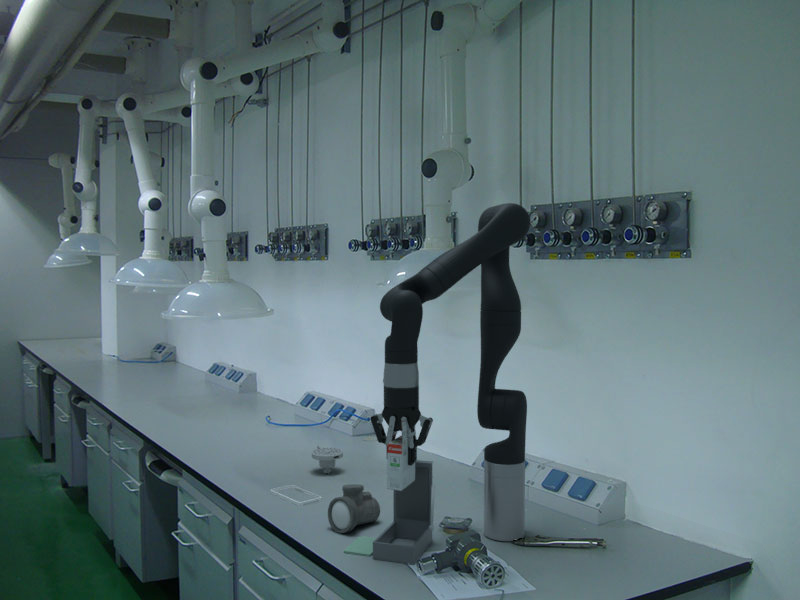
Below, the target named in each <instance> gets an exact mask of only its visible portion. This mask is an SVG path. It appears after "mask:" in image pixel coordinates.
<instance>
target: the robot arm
mask: <svg viewBox="0 0 800 600" xmlns="http://www.w3.org/2000/svg"><path fill="white" fill-rule="evenodd" d="M477 224H478V225H477V233H475V234H473V235H472V236H470V237H469V238H468V239H466V240H464V241H462V242H461V243H459V244H457V245H456V246H453V247H452V248H450V249H448V250H446V251H444V252H443V253H441V254H440V255H439V256H438V257H435V259H433V260H432V261H431V262H429V263H428V264H427V265H426V266H424V267H423V268H422V269H420V270H419V271H418V272H417V273H416V274H414V275H412V276H411V277H409V278H407V279H405V280H404V281H401V282H400V283H398V284H397V285H395V286H394V287H392V288H391V289H389V290H388V291H387V292H386V293H385V294H384V295H383V296H382V298H381V300H380V304H379V310H380V313H381V316H382V317H383V318H384V319H385V320H386V321H389V322H391V329H390V335H388V336H387V337H386V338H385V341H384V367H383V379H382V384H383V409H382V411H381V413H375V414H373V415H372V416H371V417H370V422H371V426H372V429H373V430H374V433H375V436H376V438H377V439H376V440H377V443H379V444H384V445H385V446H386V454H387V453H388V451H387V449H388V445H387V444H388V443H389V442H391V441H393V440H394V439H396V438H397V434H398V432H402V430H401V422H402V421H404V420H405V421H406V427H407V441H408V445H409V448H408V465H411V466H412V465H413V464H414V462H416V460H417V459H418V452H417V451H418V447H421V446H423V444H425V443H426V440H427V438H428V435H429V433H430V430H431V428H432V427H431V426H432V425H433V422H434V419H433V417H426V416H424V415H422V413H421V411H420V406H419V405H420V372H419V364H418V360H419V359H418V358H419V357H418V354H419V353H418V341H419V337H420V333H421V328H422V322H423V316H424V315H423V313H424V311H423V310H424V308H423V304H425V303H427V302H430V301H433V300H436V299H438V298H439V297H441V296H442V295H444V293H446V292H447V291H448V290H450V289H451V288H452V287H454V286H455V285H456V284H457V283H458V282H460V280H462V279H463V278H464V277H466V276H468V275H469V273H471V272H472V271H474V270H475V269H477V267H480V308H479V309H480V313H479V314H480V321H479V323H480V325H479V326H480V368H479V381H478V382H479V383H478V391H477V404H476V405H477V406H476V407H477V410H476V411H477V412H476V413H477V420H478V424H479V425H480V427H481V428H483V429H486V430H487V429H488V430H497V431H508V432H509V435H508V437H506V438H505V439H502V440H499V441H496V442H492V443H490V444H487V445H486V446H485V447H484V451H483V458H484V460H483V466H484V467H483V479H484V480H483V495H484V496H483V534H484V536H485V537H487V538H489V539H490V540H495V541H499V542H514V541H513V540H515V539H519V538H522V539H523V538H524V537H525V533H526V532H525V531H526V529H525V528H526V527H525V526H526V525H525V522H526V513H525V512H526V507H525V506H526V503H525V502H526V437H527V435H526V433H527V432H526V431H527V430H526V429H527V415H528V400H527V397H526V394H525V393H524V392H523V391H522V390H518V389H505V388H504V389H502V388H496V381H497V376H498V372H499V370H500V368H501V366H502V364H503V362H504V360H505V359H506V357H507V356H508V354H509V353H510V351H511V350H512V348H513V347H514V345H515V344H516V343H517V340H518V339H519V337H520V335H521V332H522V303H521V298H520V295H519V291H518V288H517V287H516V284H515V281H514V279H513V276H512V273H511V267H510V266H511V265H510V248H511V246H513V245H515V244H517V243H519V242H520V241H522V240H523V239H524V238H525V237H526V236H527V235H528V232H529V231H530V227H531V218H530V214H529V212H528V211H527V209H526V208H524V206H522V205H520V204H517V203H514V202H513V203H511V202H508V203H501V204H498V205H497V204H496V205H492V206H490V207H487V208H486V209H484V210H483V211H482V212H481V214H480V216H479V219H478V223H477ZM384 421H385V423H386V424H387V426H388V427H387V431H386V432H385V428H384V425H383V422H384ZM418 422H420V424H419V426H420V427H421V430H420V433H419V435H418V437H417V432H416V425H417V423H418Z"/></svg>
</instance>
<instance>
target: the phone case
mask: <svg viewBox="0 0 800 600" xmlns="http://www.w3.org/2000/svg"><path fill="white" fill-rule="evenodd" d="M287 489H294V490H296V489H298V490H300V491H302V492H303V493H304V494H306V495H308V496H310V497H313V498H312V499H307V500H304V501H298V500H295V499H293V498H290V497H289V496H287V495H285V494H282V493H279V492H280V491H284V490H287ZM269 492H270V494H272V495H274V496H276V497H278V498H279V499H280V498H281V499H283V500H285V501H287V502H289V503H291V504H294V505H296V506H297V507H298V506H299V507H303V506H304V505H305V504H306V503H309V502H313V501H317V500H318V502H322V501H323V497H322V496H320V495H319V494H316V493H314V492H311V491H309V490H306V489H305V488H301V487H299V486H297V485H294V484H288V485H283V486H280V487H274V488H271V489H270V491H269Z"/></svg>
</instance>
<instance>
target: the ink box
mask: <svg viewBox="0 0 800 600" xmlns="http://www.w3.org/2000/svg"><path fill="white" fill-rule="evenodd" d="M401 430H402V431H401V435H400V436H398V437H395V439H394V440H393V441H391V442H389V443H388V444H387V445H388V449H387V448H386V460H387V461H386V463H387V465H386V468H387V469H386V471H387V472H386V475H387V476H386V489H387V490H391V491H392V490H393V491H394V490H398V491H402V490H404V489H405V488H406V487H407V486H409V485H410V484H411V483H412V482H413V481H415V462H414V464H413V465H412V466H411V465H408V448H409V445H408V441H407V427H406V421H405V420H404V421H402V422H401ZM387 451H388V453H387Z"/></svg>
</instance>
